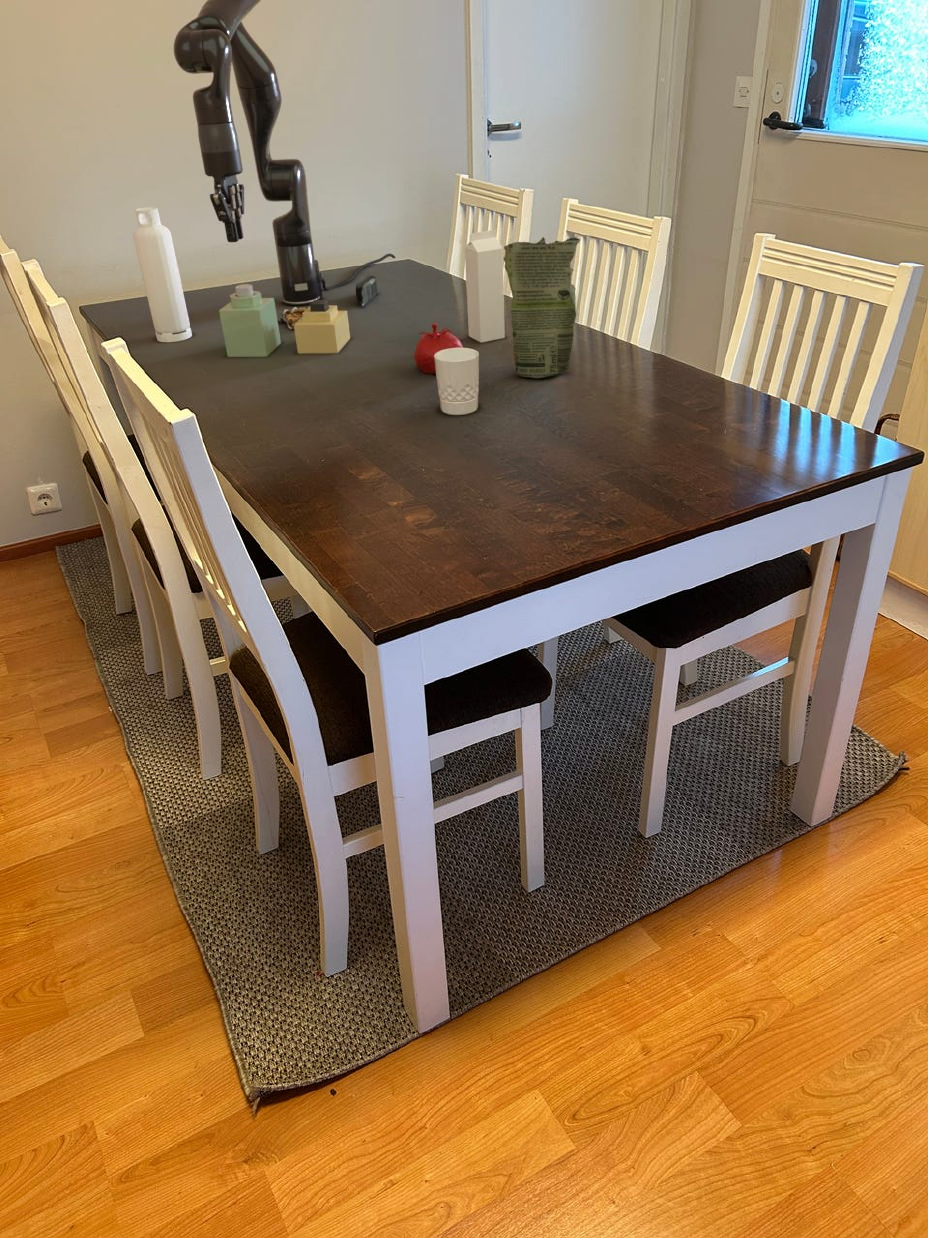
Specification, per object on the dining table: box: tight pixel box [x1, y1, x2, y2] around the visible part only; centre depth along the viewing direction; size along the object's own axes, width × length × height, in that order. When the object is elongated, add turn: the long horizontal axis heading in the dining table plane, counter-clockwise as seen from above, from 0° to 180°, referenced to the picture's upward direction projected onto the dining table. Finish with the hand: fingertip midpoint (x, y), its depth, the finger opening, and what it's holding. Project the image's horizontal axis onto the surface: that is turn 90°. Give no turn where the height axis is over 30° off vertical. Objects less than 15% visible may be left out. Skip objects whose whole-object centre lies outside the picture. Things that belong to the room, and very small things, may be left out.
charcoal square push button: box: [309, 299, 330, 312], centre depth 202 cm, size 3×3×2 cm
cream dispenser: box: [293, 305, 351, 354], centre depth 205 cm, size 11×9×8 cm
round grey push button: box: [235, 283, 254, 297], centre depth 200 cm, size 4×4×2 cm
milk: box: [464, 229, 505, 344], centre depth 200 cm, size 6×6×22 cm
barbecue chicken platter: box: [278, 306, 307, 330], centre depth 222 cm, size 7×12×4 cm, turn 29°
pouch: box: [503, 236, 581, 379], centre depth 178 cm, size 11×12×25 cm
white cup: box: [434, 347, 480, 416], centre depth 167 cm, size 8×8×10 cm
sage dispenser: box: [218, 290, 282, 358], centre depth 204 cm, size 10×9×12 cm
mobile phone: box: [355, 275, 378, 308], centre depth 238 cm, size 5×3×15 cm
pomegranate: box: [413, 323, 464, 375], centre depth 186 cm, size 10×10×9 cm
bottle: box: [132, 206, 193, 343], centre depth 211 cm, size 8×8×28 cm
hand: (235, 239), depth 194 cm, fingers closed
